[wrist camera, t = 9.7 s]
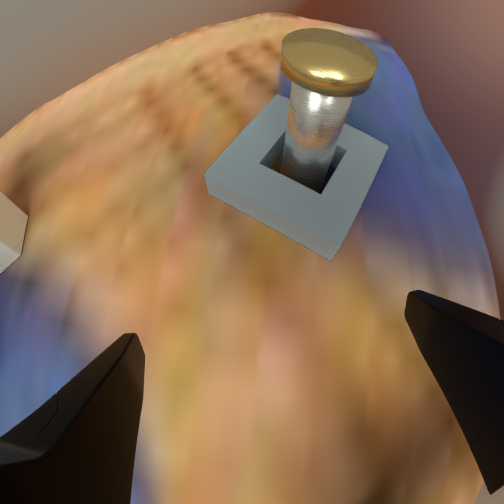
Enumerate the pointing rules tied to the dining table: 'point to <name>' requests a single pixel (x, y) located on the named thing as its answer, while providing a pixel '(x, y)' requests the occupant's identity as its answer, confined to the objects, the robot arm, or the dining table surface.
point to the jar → (10, 231)
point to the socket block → (289, 191)
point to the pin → (320, 97)
